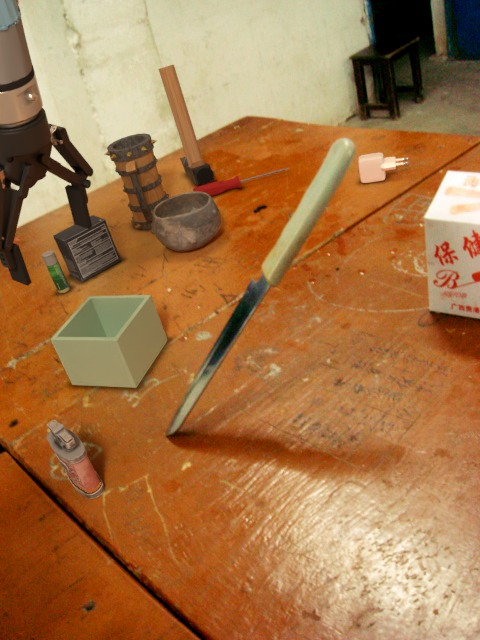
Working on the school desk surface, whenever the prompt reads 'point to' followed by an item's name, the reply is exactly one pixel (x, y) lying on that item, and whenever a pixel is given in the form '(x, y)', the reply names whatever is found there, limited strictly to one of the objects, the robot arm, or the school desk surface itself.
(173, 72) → the hammer
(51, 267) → the battery
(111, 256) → the small box
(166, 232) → the bowl
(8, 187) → the robot arm
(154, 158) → the mug
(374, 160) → the power adapter
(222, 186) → the screwdriver
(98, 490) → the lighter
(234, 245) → the school desk surface
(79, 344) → the trash bin
